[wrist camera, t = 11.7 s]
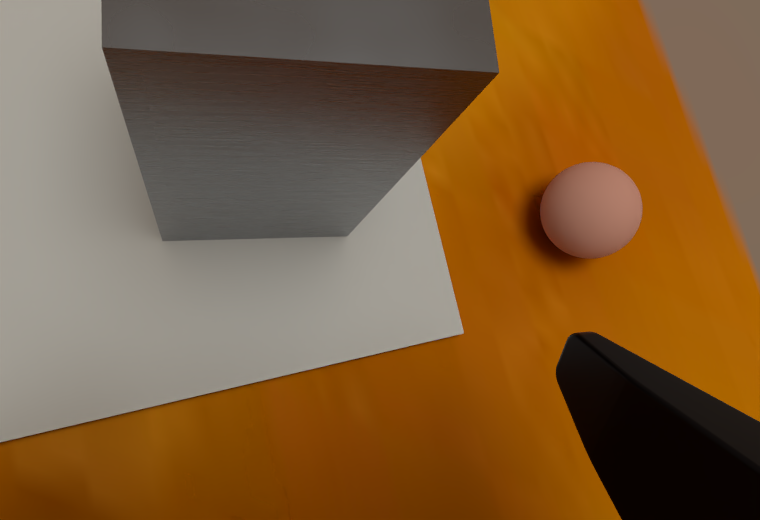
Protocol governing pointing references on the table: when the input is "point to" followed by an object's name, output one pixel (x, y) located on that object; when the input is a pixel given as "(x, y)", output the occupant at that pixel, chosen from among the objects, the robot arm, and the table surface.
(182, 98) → the tin
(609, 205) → the ball
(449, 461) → the table surface
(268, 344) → the mat
